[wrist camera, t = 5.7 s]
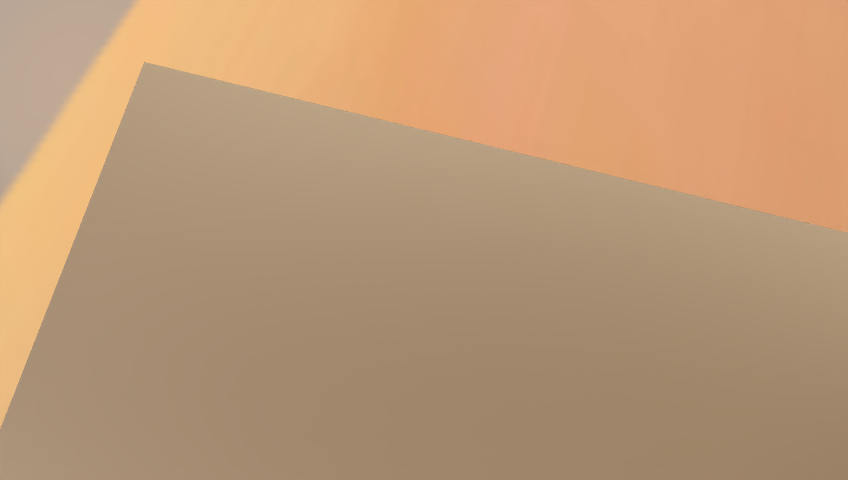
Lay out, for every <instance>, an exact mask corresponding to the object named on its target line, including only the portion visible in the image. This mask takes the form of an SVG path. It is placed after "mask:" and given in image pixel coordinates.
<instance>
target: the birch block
mask: <svg viewBox="0 0 848 480" xmlns="http://www.w3.org/2000/svg"><path fill="white" fill-rule="evenodd" d="M0 480H848V233H846V232H842V231H838V230H834V229H830V228H826V227H822V226H818V225H813V224H809V223H805V222H801V221H797V220H793V219H789V218H785V217H780V216H776V215H772V214H768V213H764V212H760V211H756V210H752V209H747V208H743V207H739V206H735V205H731V204H727V203H723V202H719V201H714V200H710V199H706V198H702V197H698V196H694V195H690V194H686V193H682V192H677V191H673V190H669V189H665V188H661V187H657V186H653V185H649V184H644V183H640V182H636V181H632V180H628V179H624V178H620V177H616V176H611V175H607V174H603V173H599V172H595V171H591V170H587V169H583V168H578V167H574V166H570V165H566V164H562V163H558V162H554V161H550V160H546V159H541V158H537V157H533V156H529V155H525V154H521V153H517V152H513V151H508V150H504V149H500V148H496V147H492V146H488V145H484V144H480V143H475V142H471V141H467V140H463V139H459V138H455V137H451V136H447V135H442V134H438V133H434V132H430V131H426V130H422V129H418V128H414V127H410V126H405V125H401V124H397V123H393V122H389V121H385V120H381V119H377V118H372V117H368V116H364V115H360V114H356V113H352V112H348V111H344V110H339V109H335V108H331V107H327V106H323V105H319V104H315V103H311V102H306V101H302V100H298V99H294V98H290V97H286V96H282V95H278V94H274V93H269V92H265V91H261V90H257V89H253V88H249V87H245V86H241V85H236V84H232V83H228V82H224V81H220V80H216V79H212V78H208V77H203V76H199V75H195V74H191V73H187V72H183V71H179V70H175V69H170V68H166V67H162V66H158V65H154V64H150V63H146V62H144V64H143V67H142V69H141V72H140V74H139V77H138V80H137V82H136V85H135V87H134V90H133V92H132V95H131V97H130V100H129V102H128V105H127V108H126V110H125V113H124V115H123V118H122V120H121V123H120V125H119V128H118V131H117V133H116V136H115V138H114V141H113V143H112V146H111V148H110V151H109V153H108V156H107V159H106V161H105V164H104V166H103V169H102V171H101V174H100V176H99V179H98V182H97V184H96V187H95V189H94V192H93V194H92V197H91V199H90V202H89V204H88V207H87V210H86V212H85V215H84V217H83V220H82V222H81V225H80V227H79V230H78V232H77V235H76V238H75V240H74V243H73V245H72V248H71V250H70V253H69V255H68V258H67V261H66V263H65V266H64V268H63V271H62V273H61V276H60V278H59V281H58V283H57V286H56V289H55V291H54V294H53V296H52V299H51V301H50V304H49V306H48V309H47V312H46V314H45V317H44V319H43V322H42V324H41V327H40V329H39V332H38V334H37V337H36V340H35V342H34V345H33V347H32V350H31V352H30V355H29V357H28V360H27V363H26V365H25V368H24V370H23V373H22V375H21V378H20V380H19V383H18V385H17V388H16V391H15V393H14V396H13V398H12V401H11V403H10V406H9V408H8V411H7V414H6V416H5V419H4V421H3V424H2V426H1V429H0Z"/></svg>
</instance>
